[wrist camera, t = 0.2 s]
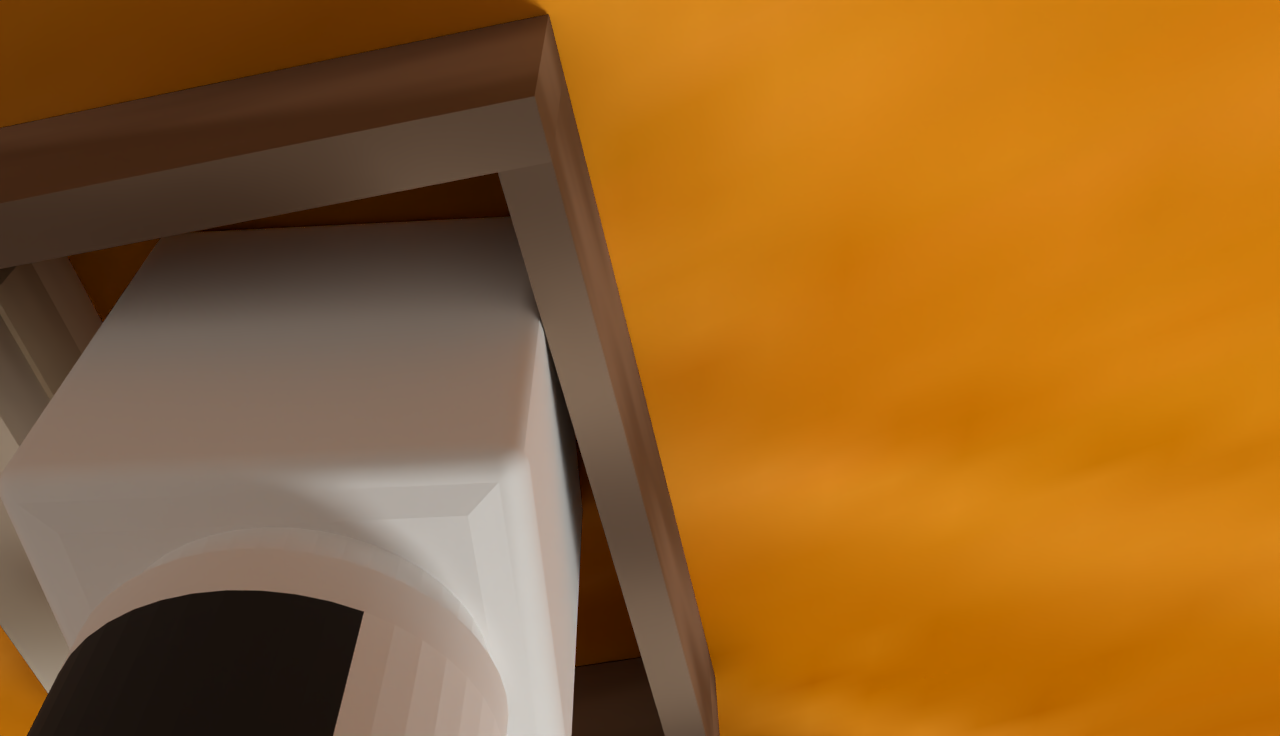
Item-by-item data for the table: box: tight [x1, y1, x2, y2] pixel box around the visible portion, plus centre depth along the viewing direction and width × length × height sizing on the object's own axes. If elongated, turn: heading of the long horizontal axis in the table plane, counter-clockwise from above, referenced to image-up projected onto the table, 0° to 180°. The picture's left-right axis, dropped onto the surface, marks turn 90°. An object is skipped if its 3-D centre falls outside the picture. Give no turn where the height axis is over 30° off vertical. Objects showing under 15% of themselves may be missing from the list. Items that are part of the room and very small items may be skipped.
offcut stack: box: [0, 256, 102, 693], centre depth 24 cm, size 12×2×4 cm, turn 11°
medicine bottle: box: [0, 216, 583, 736], centre depth 19 cm, size 7×7×12 cm
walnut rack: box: [0, 14, 719, 736], centre depth 23 cm, size 16×13×4 cm
